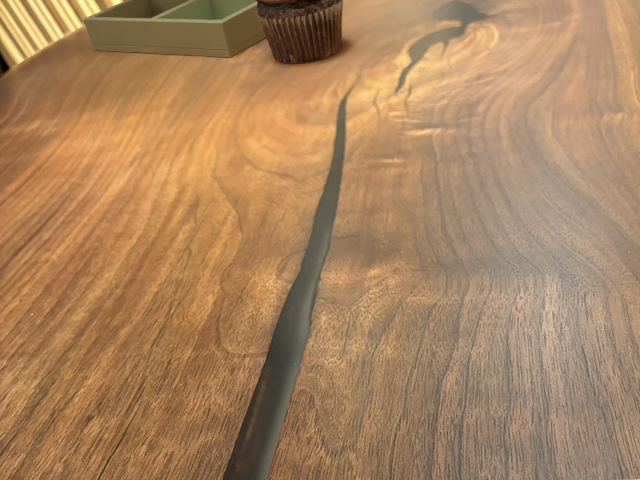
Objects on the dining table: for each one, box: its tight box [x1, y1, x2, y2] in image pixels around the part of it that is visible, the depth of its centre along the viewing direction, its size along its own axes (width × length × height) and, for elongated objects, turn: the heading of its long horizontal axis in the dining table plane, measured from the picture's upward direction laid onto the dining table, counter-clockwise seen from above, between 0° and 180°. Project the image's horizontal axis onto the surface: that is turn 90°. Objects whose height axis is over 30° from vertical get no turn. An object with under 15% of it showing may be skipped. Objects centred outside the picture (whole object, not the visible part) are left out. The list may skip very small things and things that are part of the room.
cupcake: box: [255, 0, 344, 64], centre depth 79 cm, size 10×10×10 cm
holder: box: [82, 0, 266, 58], centre depth 91 cm, size 12×23×4 cm, turn 61°
